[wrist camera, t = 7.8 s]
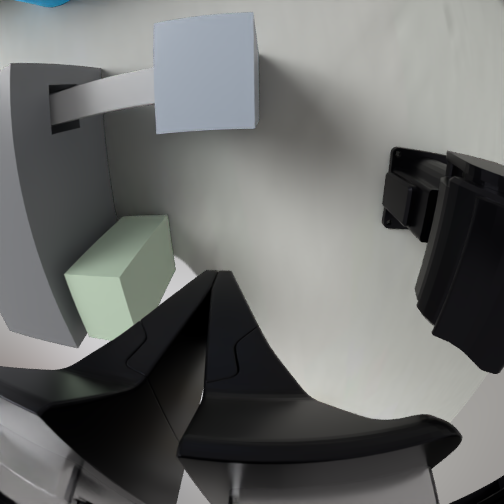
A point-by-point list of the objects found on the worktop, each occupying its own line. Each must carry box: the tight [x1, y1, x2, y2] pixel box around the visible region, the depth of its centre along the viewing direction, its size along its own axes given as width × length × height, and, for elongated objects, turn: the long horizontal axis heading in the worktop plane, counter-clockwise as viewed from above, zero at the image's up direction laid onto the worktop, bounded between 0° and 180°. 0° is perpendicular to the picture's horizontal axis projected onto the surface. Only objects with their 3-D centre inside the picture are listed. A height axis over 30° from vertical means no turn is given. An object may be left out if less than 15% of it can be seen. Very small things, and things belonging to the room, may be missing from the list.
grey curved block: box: [0, 63, 117, 348], centre depth 17 cm, size 8×18×10 cm, turn 1°
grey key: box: [49, 12, 259, 134], centre depth 14 cm, size 16×5×9 cm, turn 91°
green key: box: [64, 215, 176, 341], centre depth 20 cm, size 14×5×9 cm, turn 91°
